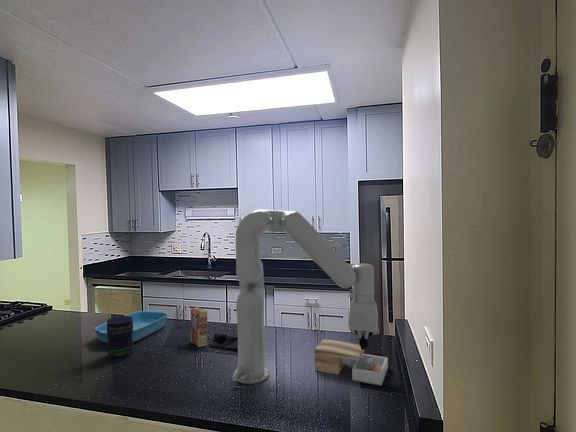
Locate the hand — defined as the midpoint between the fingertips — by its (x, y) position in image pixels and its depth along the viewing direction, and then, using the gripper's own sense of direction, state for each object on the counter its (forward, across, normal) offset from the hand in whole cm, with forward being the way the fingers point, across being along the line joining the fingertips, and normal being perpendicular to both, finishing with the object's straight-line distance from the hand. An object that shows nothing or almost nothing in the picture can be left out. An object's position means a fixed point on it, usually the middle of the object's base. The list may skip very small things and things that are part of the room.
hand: (363, 348), depth 125 cm
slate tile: (+4, +1, 0) cm, 4 cm away
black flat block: (+10, -58, +5) cm, 59 cm away
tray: (+9, +2, 0) cm, 9 cm away
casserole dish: (+9, -112, -3) cm, 112 cm away
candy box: (+9, -74, -1) cm, 74 cm away
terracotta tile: (+6, +3, 0) cm, 7 cm away
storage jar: (+9, -96, -24) cm, 99 cm away
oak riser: (+9, -9, 0) cm, 13 cm away
